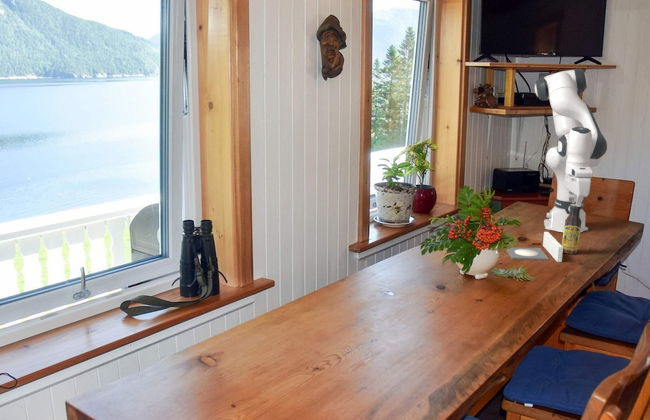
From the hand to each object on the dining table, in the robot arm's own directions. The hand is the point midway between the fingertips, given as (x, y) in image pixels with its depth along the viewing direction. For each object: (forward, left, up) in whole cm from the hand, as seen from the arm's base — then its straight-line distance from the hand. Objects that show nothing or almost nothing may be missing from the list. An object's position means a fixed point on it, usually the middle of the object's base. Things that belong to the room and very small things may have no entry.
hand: (574, 203), depth 245 cm
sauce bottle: (0, 0, -21) cm, 21 cm away
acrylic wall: (+2, -8, -20) cm, 22 cm away
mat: (+4, -18, -20) cm, 27 cm away
